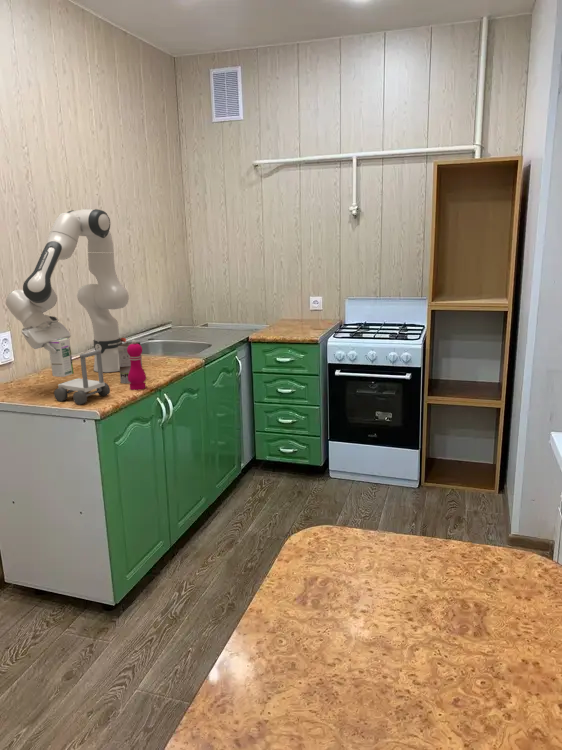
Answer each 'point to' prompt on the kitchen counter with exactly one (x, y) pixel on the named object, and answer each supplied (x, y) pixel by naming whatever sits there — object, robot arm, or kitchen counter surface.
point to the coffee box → (124, 361)
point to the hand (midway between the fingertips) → (61, 351)
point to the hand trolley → (83, 383)
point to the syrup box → (61, 358)
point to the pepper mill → (136, 367)
